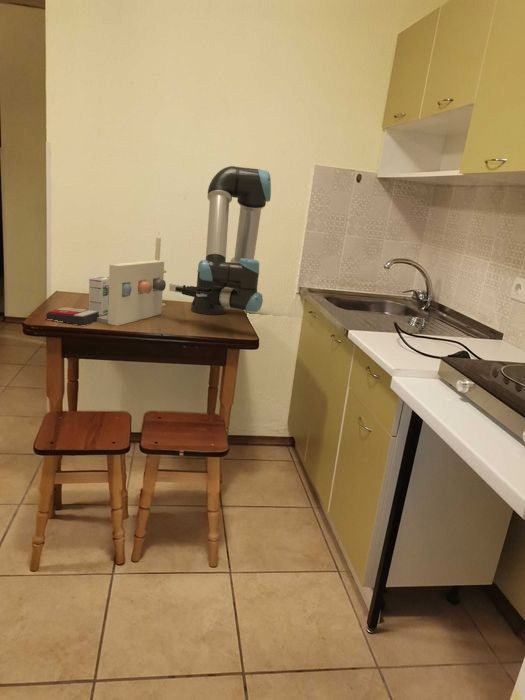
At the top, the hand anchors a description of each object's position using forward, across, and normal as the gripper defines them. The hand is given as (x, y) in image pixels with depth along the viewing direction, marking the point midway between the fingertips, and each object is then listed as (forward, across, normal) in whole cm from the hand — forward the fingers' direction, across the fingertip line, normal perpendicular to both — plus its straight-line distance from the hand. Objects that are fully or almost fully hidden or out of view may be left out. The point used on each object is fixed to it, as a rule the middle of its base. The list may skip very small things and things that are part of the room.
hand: (170, 287), depth 206 cm
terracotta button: (+6, -10, -2) cm, 12 cm away
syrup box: (+24, -14, -13) cm, 30 cm away
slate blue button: (+8, -20, -2) cm, 22 cm away
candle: (+20, +20, -13) cm, 31 cm away
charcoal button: (+6, 0, -2) cm, 6 cm away
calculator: (+23, -30, -14) cm, 40 cm away
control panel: (+11, -10, -13) cm, 20 cm away
